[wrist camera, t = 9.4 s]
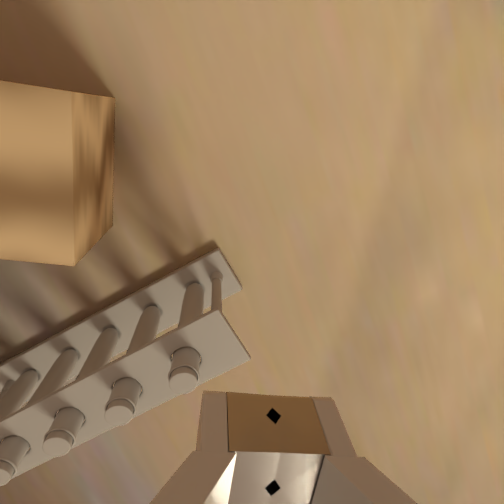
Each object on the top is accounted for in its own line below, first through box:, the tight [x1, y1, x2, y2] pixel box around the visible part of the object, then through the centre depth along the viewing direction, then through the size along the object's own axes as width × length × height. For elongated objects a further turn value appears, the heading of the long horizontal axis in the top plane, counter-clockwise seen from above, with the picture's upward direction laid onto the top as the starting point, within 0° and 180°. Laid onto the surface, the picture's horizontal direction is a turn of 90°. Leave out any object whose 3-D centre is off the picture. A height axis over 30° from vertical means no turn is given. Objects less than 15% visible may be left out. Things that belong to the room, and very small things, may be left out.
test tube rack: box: [0, 248, 251, 486], centre depth 28 cm, size 25×4×13 cm, turn 118°
